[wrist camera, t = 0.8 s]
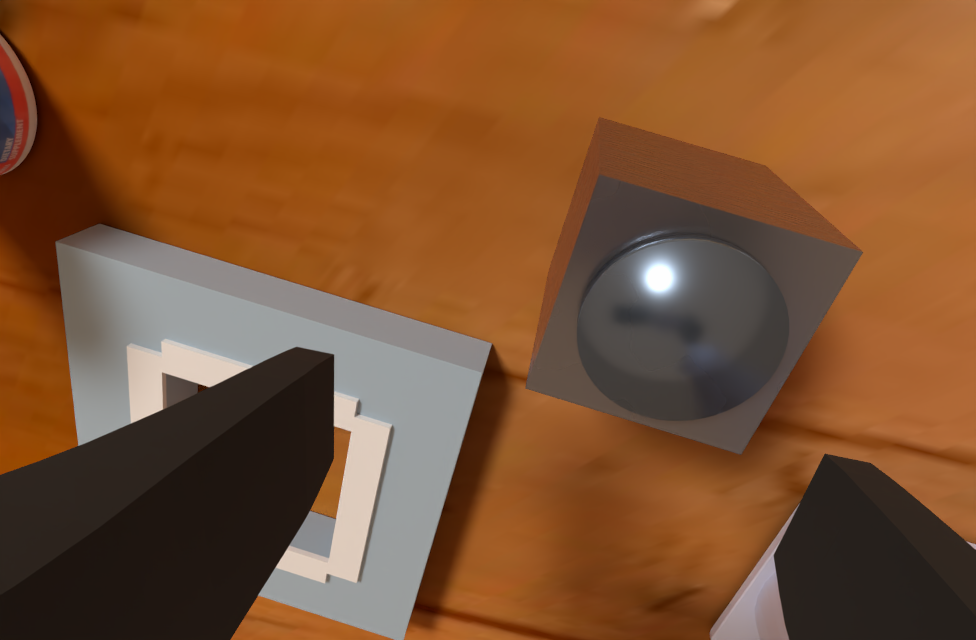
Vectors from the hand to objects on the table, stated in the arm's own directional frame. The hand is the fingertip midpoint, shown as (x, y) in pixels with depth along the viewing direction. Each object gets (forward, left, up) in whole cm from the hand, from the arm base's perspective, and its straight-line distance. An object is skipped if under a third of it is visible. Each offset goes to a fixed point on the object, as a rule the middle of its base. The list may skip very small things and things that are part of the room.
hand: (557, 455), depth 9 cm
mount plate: (+8, +11, -9) cm, 17 cm away
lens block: (-2, -1, -10) cm, 10 cm away
